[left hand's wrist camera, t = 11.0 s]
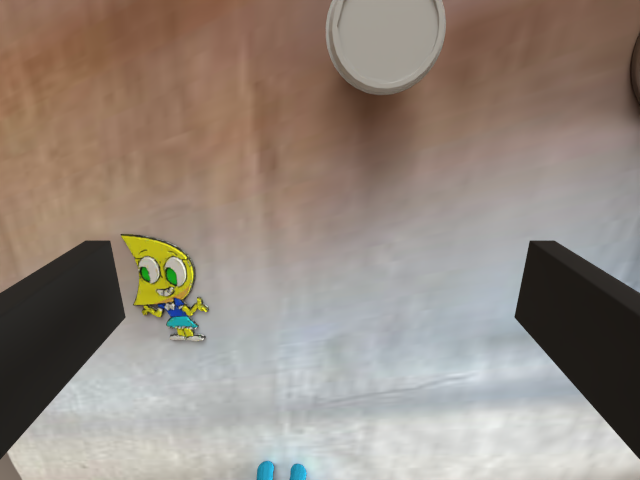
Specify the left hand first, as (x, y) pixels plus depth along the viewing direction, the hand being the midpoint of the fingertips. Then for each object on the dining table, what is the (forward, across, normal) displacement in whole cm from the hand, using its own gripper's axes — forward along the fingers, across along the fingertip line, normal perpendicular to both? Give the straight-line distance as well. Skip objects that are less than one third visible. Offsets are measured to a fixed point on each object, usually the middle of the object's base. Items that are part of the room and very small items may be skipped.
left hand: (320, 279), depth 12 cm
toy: (+34, -20, -18) cm, 44 cm away
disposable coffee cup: (+34, +5, +10) cm, 36 cm away
